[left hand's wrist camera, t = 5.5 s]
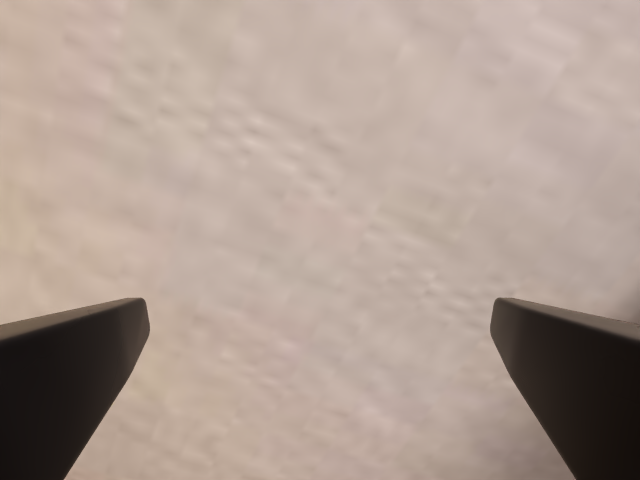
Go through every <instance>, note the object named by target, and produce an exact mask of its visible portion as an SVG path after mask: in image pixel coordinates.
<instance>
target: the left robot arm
mask: <svg viewBox="0 0 640 480" xmlns="http://www.w3.org/2000/svg"><path fill="white" fill-rule="evenodd" d="M149 332H150V325H149V318H148V312H147V306H146V302H145V300H144V299H143V298H125V299H120V300H116V301H111V302H106V303H101V304H97V305H92V306H87V307H83V308H78V309H73V310H68V311H64V312H59V313H54V314H50V315H45V316H40V317H35V318H31V319H26V320H21V321H17V322H12V323H7V324H2V325H0V480H64V478H65V477H66V475H67V474H68V472H69V471H70V469H71V468H72V466H73V464H74V463H75V461H76V460H77V458H78V457H79V455H80V453H81V452H82V450H83V449H84V447H85V446H86V444H87V443H88V441H89V439H90V438H91V436H92V435H93V433H94V432H95V430H96V428H97V427H98V425H99V424H100V422H101V421H102V419H103V418H104V416H105V414H106V413H107V411H108V410H109V408H110V407H111V405H112V403H113V402H114V400H115V399H116V397H117V396H118V394H119V393H120V391H121V389H122V388H123V386H124V385H125V383H126V381H127V380H128V378H129V376H130V374H131V373H132V371H133V369H134V366H135V364H136V362H137V360H138V358H139V356H140V354H141V352H142V349H143V347H144V345H145V343H146V341H147V339H148V336H149ZM490 332H491V336H492V339H493V341H494V343H495V345H496V347H497V349H498V352H499V354H500V356H501V358H502V360H503V362H504V364H505V366H506V369H507V371H508V373H509V374H510V376H511V378H512V380H513V381H514V383H515V385H516V386H517V388H518V389H519V391H520V393H521V394H522V396H523V397H524V399H525V400H526V402H527V403H528V405H529V407H530V408H531V410H532V411H533V413H534V414H535V416H536V418H537V419H538V421H539V422H540V424H541V425H542V427H543V428H544V430H545V432H546V433H547V435H548V436H549V438H550V439H551V441H552V443H553V444H554V446H555V447H556V449H557V450H558V452H559V453H560V455H561V457H562V458H563V460H564V461H565V463H566V464H567V466H568V468H569V469H570V471H571V472H572V474H573V475H574V477H575V478H576V480H640V325H638V324H633V323H628V322H624V321H619V320H614V319H609V318H605V317H600V316H595V315H591V314H586V313H581V312H576V311H572V310H567V309H562V308H557V307H553V306H548V305H543V304H539V303H534V302H529V301H524V300H520V299H515V298H497V299H496V300H495V302H494V306H493V312H492V318H491V325H490Z"/></svg>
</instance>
